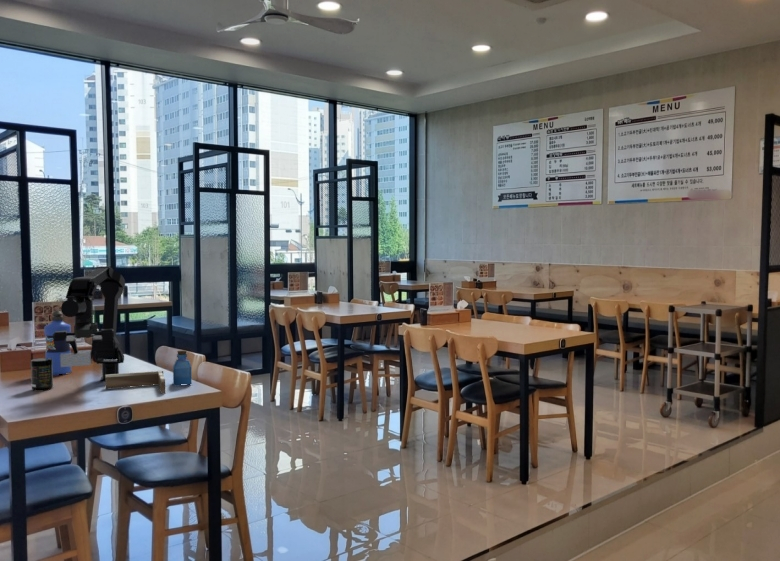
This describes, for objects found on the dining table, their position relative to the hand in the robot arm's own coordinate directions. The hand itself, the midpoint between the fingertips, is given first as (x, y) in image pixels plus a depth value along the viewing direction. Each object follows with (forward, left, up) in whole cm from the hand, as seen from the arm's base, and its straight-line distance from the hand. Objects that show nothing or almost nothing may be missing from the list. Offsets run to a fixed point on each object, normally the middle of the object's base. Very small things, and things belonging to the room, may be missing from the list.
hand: (84, 359), depth 223 cm
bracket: (+2, -2, -1) cm, 3 cm away
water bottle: (-42, -11, -11) cm, 45 cm away
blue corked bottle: (+1, +32, -11) cm, 34 cm away
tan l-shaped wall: (+7, +16, -11) cm, 21 cm away
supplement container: (-10, -14, -11) cm, 20 cm away
